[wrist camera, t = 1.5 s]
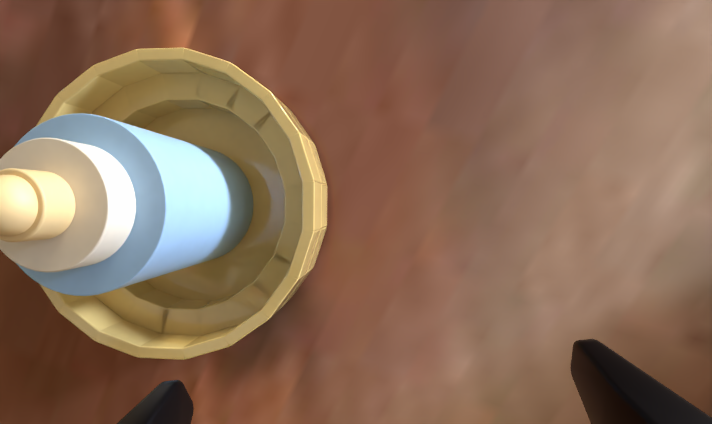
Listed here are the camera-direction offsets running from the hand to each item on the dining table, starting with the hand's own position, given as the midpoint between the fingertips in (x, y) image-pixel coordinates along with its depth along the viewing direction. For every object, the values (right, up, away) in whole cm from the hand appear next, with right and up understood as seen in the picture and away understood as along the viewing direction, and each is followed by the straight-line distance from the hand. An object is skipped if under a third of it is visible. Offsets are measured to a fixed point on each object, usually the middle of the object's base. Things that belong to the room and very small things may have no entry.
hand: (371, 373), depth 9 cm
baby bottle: (-10, +4, +14) cm, 18 cm away
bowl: (-10, +4, +15) cm, 18 cm away
